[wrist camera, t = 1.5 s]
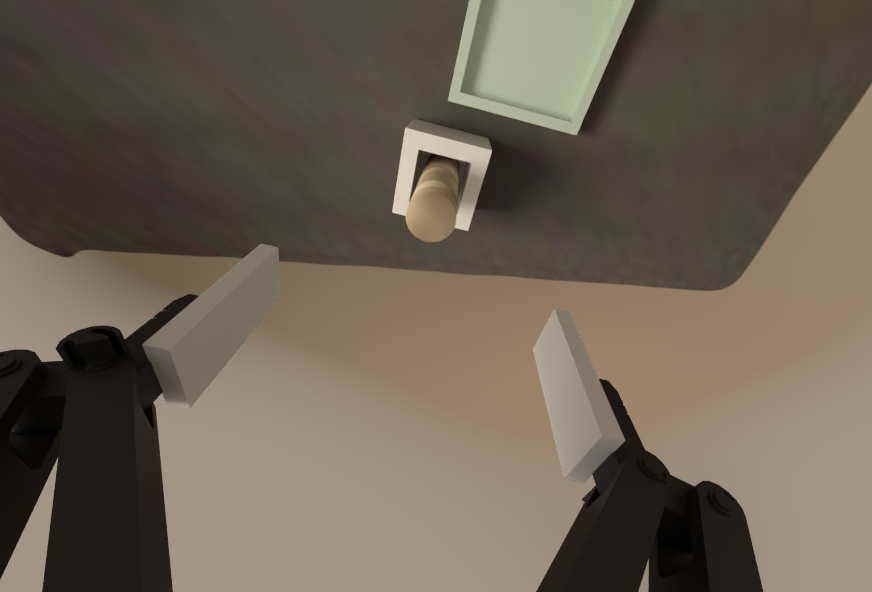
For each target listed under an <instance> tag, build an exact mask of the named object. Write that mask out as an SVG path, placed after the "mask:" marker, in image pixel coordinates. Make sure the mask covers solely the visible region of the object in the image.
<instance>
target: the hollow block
mask: <svg viewBox="0 0 872 592" xmlns="http://www.w3.org/2000/svg"><path fill="white" fill-rule="evenodd" d="M433 153H434V154H438V155H442V156H446V157H449V158H453V159H457V160H458V163H459V182H458V199H457V215H456V225H455V228H458V229H462V230H466V231H468V229H469V225H470V222H471V219H472V216H473V212H474V209H475V206H476V202H477V199H478V196H479V193H480V189H481V186H482V183H483V179H484V176H485V173H486V170H487V166H488V163H489V160H490V156H491V153H492V148H491V145H490V142H489V139H488V138H486V137H482V136H478V135H475V134H471V133H467V132H463V131H460V130H456V129H452V128H448V127H444V126H441V125H437V124H433V123H429V122H425V121H422V120H418V119H414V120H413V121H412V122H411V123H410V124H409V125H408V126H407V127H406V128H405V133H404V140H403V146H402V152H401V159H400V165H399V172H398V178H397V185H396V191H395V198H394V204H393V211H392V213H396V214H400V215H404V216H406V211H407V208H408V206H409V203H410V201H411V199H412V196H413V194H414V191H415V189H416V187H417V184H418V182H419V179H420V177H421V175H422V172H423V170H424V167H425V165H426V163H427V160H428V158H429V157H430V156H431V155H432V154H433Z"/></svg>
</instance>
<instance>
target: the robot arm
mask: <svg viewBox="0 0 872 592" xmlns="http://www.w3.org/2000/svg"><path fill="white" fill-rule="evenodd" d="M280 297H281V283H280V268H279V255H278V247H274V246H269V245H265V244H260V245H259V246H258V247H256V248H255V249H254V250H253V251H252V252H251V253H249V254H248V255H247V256H246V257H245V258H243V259H242V260H241V261H240V262H239V263H238V264H236V266H234V267H233V268H232V269H231V270H229V271H228V272H227V273H226V274H225V275H223V276H222V277H221V278H220V279H219V280H218V281H216V282H215V283H214V284H213V285H212V286H211V287H209V288H208V289H207V290H206V291H205V292H203V293H202V294H201V295H200V296H197V295H192V294H188V295H186V296H184V297H182V298H179V299H177V300H174V301H173V302H172V303H171V304H169V305H168V306H167V307H165V308H164V309H163V311H162V312H159V313H158V314H157V315H155V316H154V317H153V319H150V320H149V321H148V322H146V323H145V324H144V325H143V326H141V327H140V328H139V329H138V330H136V331H135V332H134V333H133V334H131V335H130V336H129V337H127V338H126V339H125V340H124V337H123V335H122V333H121V331H120V330H119V329H117V328H115V327H111V326H94V327H89V328H85V329H81V330H78V331H76V332H74V333H72V334H70V335H68V336H67V337H65V338H64V339H62V340H61V341H60V342H59V344H58V345H57V347H56V350H57V352H58V353H59V355H60V356H61V358H62V359H63V361H53V362H41V360H40V359H39V357H38V356H37V355H36V353H35V352H32V351H29V350H10V351H4V352H0V579H1V577H2V575H3V573H4V570H5V568H6V566H7V564H8V562H9V560H10V558H11V555H12V553H13V551H14V549H15V547H16V545H17V543H18V541H19V539H20V536H21V534H22V532H23V530H24V528H25V526H26V524H27V522H28V519H29V517H30V515H31V513H32V511H33V509H34V507H35V505H36V503H37V500H38V498H39V496H40V494H41V492H42V490H43V488H44V485H45V483H46V481H47V479H48V477H49V475H50V473H51V471H52V469H53V466H54V464H55V462H56V460H57V458H58V465H57V473H56V482H55V490H54V499H53V507H52V515H51V524H50V532H49V540H48V548H47V557H46V565H45V573H44V582H43V590H42V592H173V590H172V579H171V568H170V557H169V547H168V536H167V525H166V514H165V504H164V493H163V482H162V471H161V461H160V450H159V439H158V429H157V418H156V408H155V405H154V403H153V402H154V401H155V400H156V399H157V398H158V396H159V395H160V394H161V393H163V396H164V398H165V401H166V403H167V404H171V405H177V406H182V407H187V408H191V407H192V405H193V404H194V403H195V402H196V400H197V399H198V398H199V397H200V395H201V394H202V393H203V392H204V390H205V389H206V388H207V387H208V386H209V384H210V383H211V382H212V380H214V378H215V377H216V376H217V375H218V373H219V372H220V371H221V370H222V368H223V367H224V366H225V365H226V364H227V362H228V361H229V360H230V359H231V357H232V356H233V355H234V354H235V352H236V351H237V350H238V349H239V348H240V346H241V345H242V344H243V343H244V341H245V340H246V339H247V338H248V337H249V335H250V334H251V333H252V332H253V330H254V329H255V328H256V327H257V325H258V324H259V323H260V322H261V321H262V319H263V318H264V317H265V316H266V314H267V313H268V312H269V311H270V310H271V308H272V307H273V306H274V305H275V303H276V302H277V301H278V300H279V298H280ZM533 352H534V356H535V360H536V365H537V369H538V373H539V377H540V381H541V385H542V390H543V394H544V398H545V402H546V406H547V410H548V414H549V418H550V423H551V427H552V431H553V435H554V439H555V443H556V448H557V452H558V456H559V459H560V464H561V468H562V472H563V477H564V479H568V480H573V481H579V482H585V481H586V480H587V479H588V478H589V477H590V476H591V475H592V474H593V477H594V480H595V483H596V486H595V487H594V488H593V489H592V490H591V491H590V492H589V493H588V494H587V495H586V496H585V497H584V498H583V499H582V500H583V501H584V502H585V503H584V505H583V507H582V509H581V510H580V512H579V514H578V516H577V518H576V520H575V521H574V523H573V525H572V527H571V529H570V531H569V532H568V534H567V536H566V538H565V540H564V542H563V543H562V546H561V547H560V549H559V551H558V553H557V555H556V556H555V558H554V560H553V562H552V564H551V566H550V567H549V569H548V571H547V573H546V575H545V577H544V579H543V580H542V582H541V584H540V586H539V588H538V590H537V591H536V592H638V591H639V587H640V584H641V581H642V577H643V574H644V571H645V568H646V565H647V561H648V558H649V592H763V589H762V585H761V580H760V576H759V572H758V567H757V563H756V559H755V555H754V550H753V546H752V542H751V538H750V533H749V529H748V525H747V520H746V517H745V515H744V512H743V509H742V508H741V506H740V505H739V504H738V502H737V501H736V499H735V498H734V497H732V495H731V494H730V493H729V492H727V491H726V490H725V489H723V488H722V487H720V486H719V485H717V484H715V483H713V482H710V481H702V482H700V483H699V484H697V485H696V486H695V487H694V486H692V485H690V484H688V483H686V482H684V481H682V480H680V479H678V478H676V477H674V476H672V475H670V474H669V472H668V469H667V468H666V467H665V465H664V464H663V463H662V462H661V461H660V460H659V459H658V458H657V457H656V456H655V455H653V454H651V453H650V452H648V451H646V450H645V449H644V447H643V445H642V442H641V440H640V438H639V436H638V434H637V432H636V430H635V428H634V426H633V423H632V421H631V419H630V417H629V415H627V411H626V409H625V407H624V406H623V402H622V400H621V398H620V396H619V394H618V392H617V391H616V389H615V388H614V387H613V386H612V385H611V384H610V382H609V381H607V380H602V379H598V376H597V374H596V371H595V369H594V367H593V364H592V362H591V360H590V357H589V355H588V353H587V351H586V348H585V346H584V344H583V341H582V339H581V337H580V334H579V332H578V330H577V327H576V325H575V323H574V321H573V318H572V316H571V313H570V312H568V311H564V310H559V309H554V311H553V312H552V314H551V316H550V318H549V320H548V322H547V324H546V325H545V327H544V329H543V331H542V333H541V335H540V337H539V339H538V341H537V343H536V345H535V346H534V348H533Z"/></svg>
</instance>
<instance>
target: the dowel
mask: <svg viewBox="0 0 872 592" xmlns="http://www.w3.org/2000/svg"><path fill="white" fill-rule="evenodd" d="M458 182H459V163H458V160H457V159H453V158H449V157H446V156H442V155H438V154H434V153H433V154H432V155H431V156H430V157H429V158H428V160H427V163H426V165H425V167H424V170H423V172H422V175H421V177H420V179H419V182H418V184H417V187H416V189H415V191H414V194H413V196H412V199H411V201H410V203H409V206H408V208H407V211H406V223H407V226H408V228H409V230H410V231H411V232H412V234H413V235H414V236H416V237H417V238H419V239H421V240H423V241H426V242H437V241H441V240H443V239H445V238H447V237H448V236H449V235H450V234H451V233H452V231H453V230H454V228H455V225H456V215H457V199H458Z"/></svg>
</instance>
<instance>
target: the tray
mask: <svg viewBox="0 0 872 592" xmlns="http://www.w3.org/2000/svg"><path fill="white" fill-rule="evenodd" d="M634 1H635V0H469V4H468V9H467V14H466V18H465V23H464V28H463V33H462V37H461V42H460V47H459V51H458V56H457V61H456V65H455V70H454V75H453V79H452V84H451V89H450V94H449V98H448V101H451V102H454V103H458V104H462V105H465V106H469V107H473V108H477V109H480V110H484V111H488V112H491V113H495V114H499V115H502V116H506V117H510V118H514V119H517V120H521V121H525V122H528V123H532V124H536V125H540V126H543V127H547V128H551V129H554V130H558V131H562V132H565V133H569V134H573V135H577V133H578V131H579V129H580V126H581V124H582V122H583V119H584V117H585V115H586V112H587V110H588V108H589V105H590V103H591V101H592V98H593V96H594V94H595V92H596V89H597V87H598V85H599V82H600V80H601V78H602V75H603V73H604V71H605V68H606V66H607V64H608V61H609V59H610V57H611V54H612V52H613V50H614V48H615V45H616V43H617V41H618V38H619V36H620V34H621V31H622V29H623V27H624V24H625V22H626V20H627V17H628V15H629V13H630V10H631V8H632V6H633V4H634Z"/></svg>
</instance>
